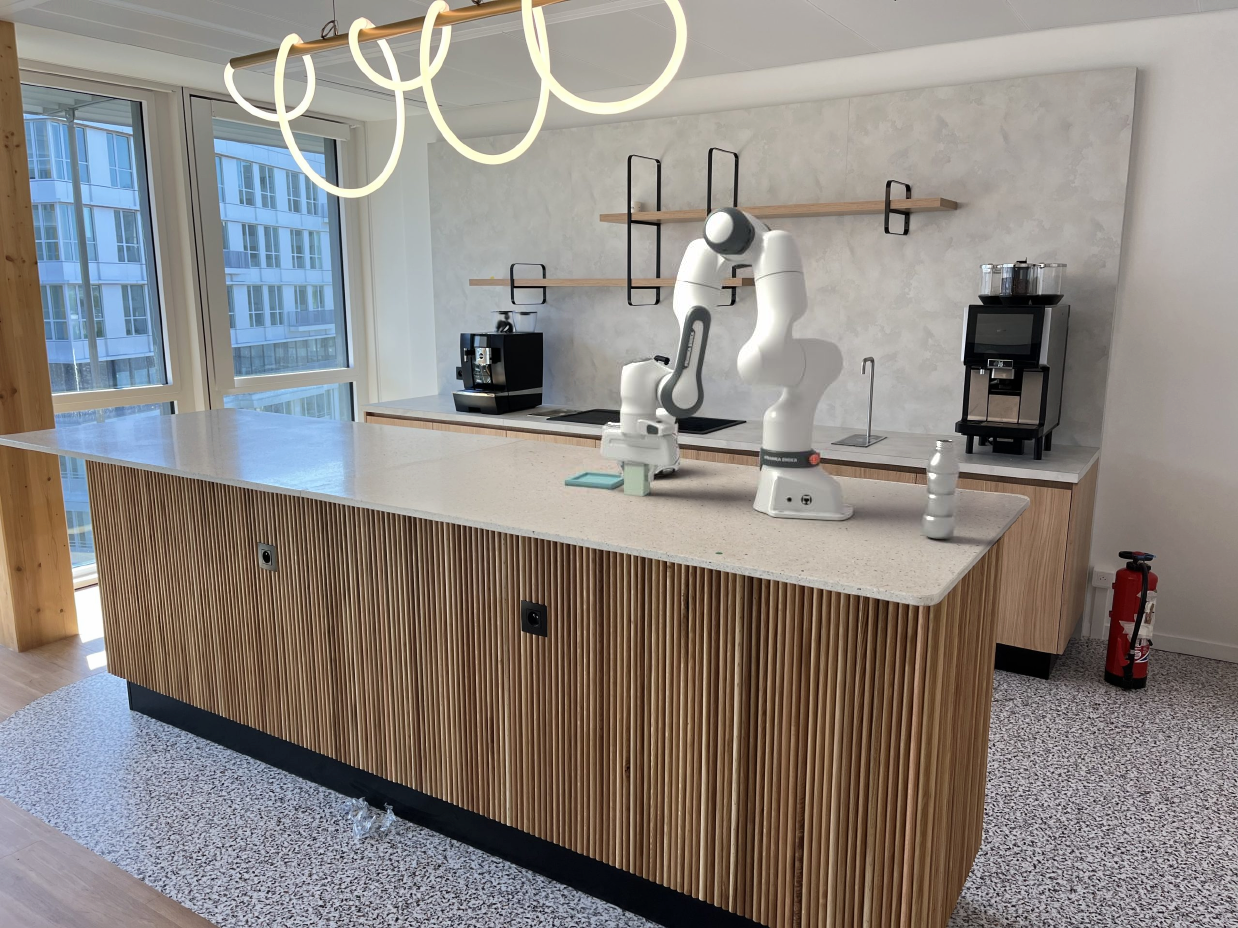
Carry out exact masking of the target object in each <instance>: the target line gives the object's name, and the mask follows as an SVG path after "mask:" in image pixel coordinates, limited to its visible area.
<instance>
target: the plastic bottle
mask: <svg viewBox="0 0 1238 928" xmlns="http://www.w3.org/2000/svg"><path fill="white" fill-rule="evenodd" d="M934 450H935V452H934V453H933V455H931V456H930V458H929V459H928V461H927V463H926V466H925V467H926V468H925V469H926V487H927V488H926V491H927V493H926V502H925V508H924V513H923V516H922V520H921V531H922V533H923V535H924V536H925V537H928V538H932V539H937V540H941V539H942V540H944V539H949V538H952V536H953V535H954V534H955V529H956V519H955V518H956V517H955V494H956V487H957V483H958V478H959V473H960V463H959V461H958V459H957V458H956V456H955V455H954V451H955V440H950V439H936V440H935V442H934Z"/></svg>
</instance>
